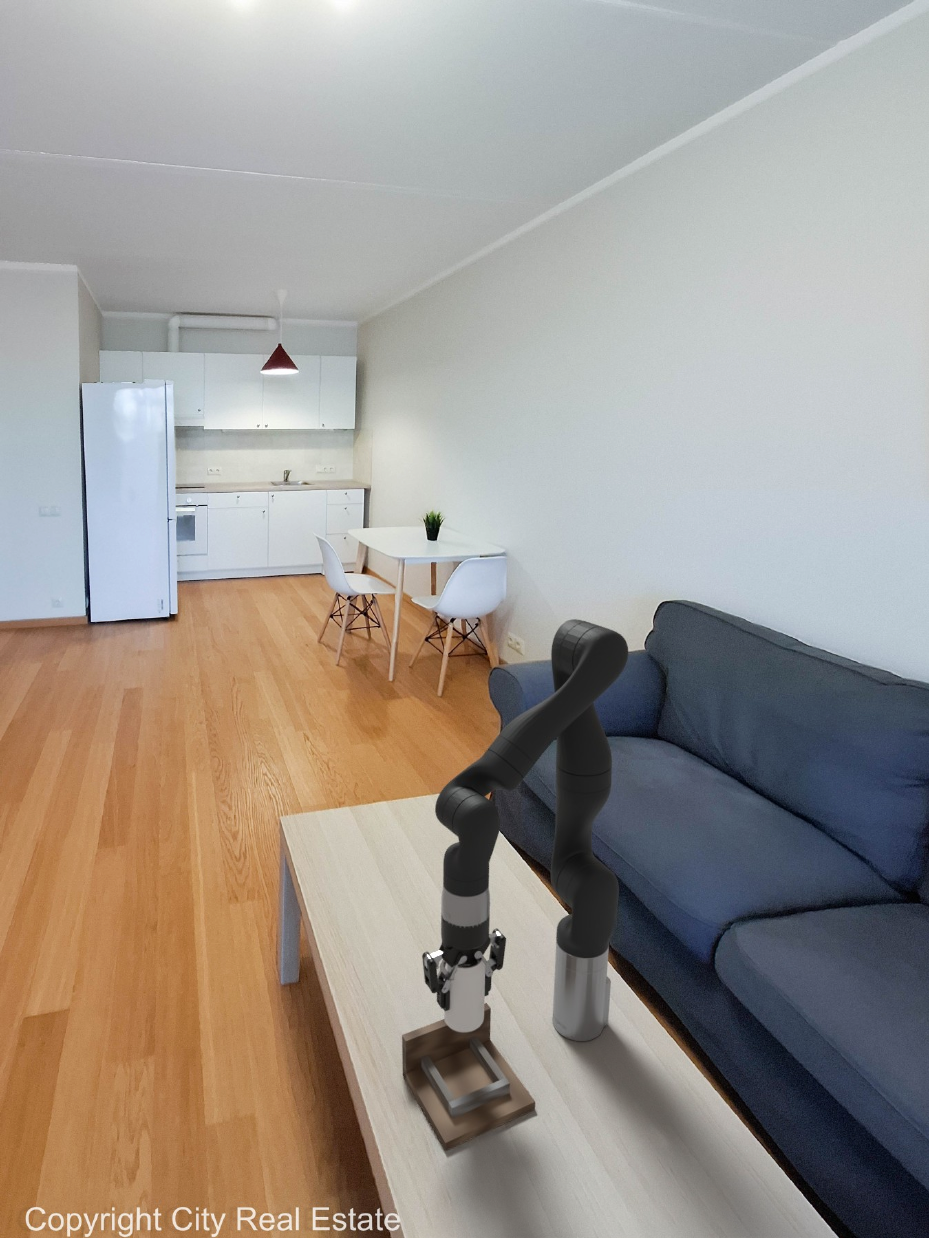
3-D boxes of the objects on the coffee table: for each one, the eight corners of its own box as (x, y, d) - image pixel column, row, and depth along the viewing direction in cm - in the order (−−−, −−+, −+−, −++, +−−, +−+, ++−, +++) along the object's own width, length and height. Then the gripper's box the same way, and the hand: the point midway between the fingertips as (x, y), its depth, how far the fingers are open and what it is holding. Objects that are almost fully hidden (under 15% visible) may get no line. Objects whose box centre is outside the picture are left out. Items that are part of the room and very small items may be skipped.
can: (482, 1004, 133) (484, 941, 129) (485, 1034, 126) (486, 969, 123) (443, 1004, 132) (444, 942, 129) (443, 1034, 126) (444, 969, 123)
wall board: (485, 1040, 142) (486, 1002, 140) (534, 1108, 128) (536, 1068, 126) (402, 1074, 135) (402, 1034, 133) (445, 1150, 121) (445, 1108, 119)
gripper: (493, 884, 131) (491, 971, 135) (413, 908, 124) (413, 999, 128) (518, 909, 124) (514, 1000, 129) (434, 936, 118) (433, 1031, 122)
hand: (464, 999), depth 128 cm, fingers closed on can, 6 cm apart
